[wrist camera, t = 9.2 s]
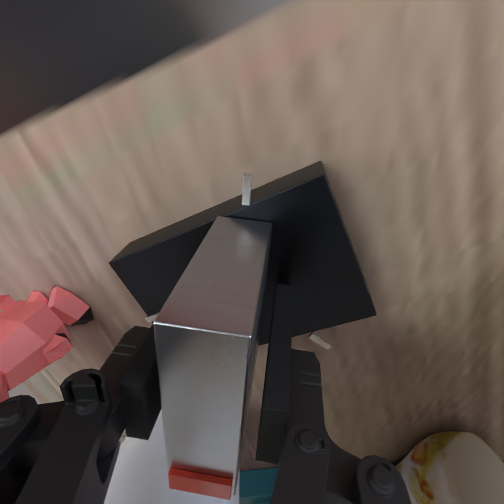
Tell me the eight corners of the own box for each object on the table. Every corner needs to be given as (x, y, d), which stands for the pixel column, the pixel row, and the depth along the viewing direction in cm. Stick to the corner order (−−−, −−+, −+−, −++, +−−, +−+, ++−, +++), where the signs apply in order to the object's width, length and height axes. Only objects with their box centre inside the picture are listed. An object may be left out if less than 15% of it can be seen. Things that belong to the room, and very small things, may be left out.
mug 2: (336, 464, 27) (380, 581, 17) (411, 380, 27) (498, 448, 17) (402, 524, 27) (486, 679, 17) (478, 439, 27) (605, 543, 17)
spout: (217, 215, 15) (148, 328, 8) (272, 222, 15) (250, 344, 8) (213, 342, 19) (165, 490, 12) (257, 348, 18) (233, 504, 12)
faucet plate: (310, 133, 15) (313, 142, 13) (374, 305, 19) (385, 336, 17) (115, 223, 19) (88, 243, 16) (203, 351, 23) (192, 382, 20)
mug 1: (226, 354, 22) (177, 541, 13) (276, 441, 26) (265, 630, 17) (80, 385, 26) (-36, 545, 17) (143, 456, 30) (76, 617, 21)
